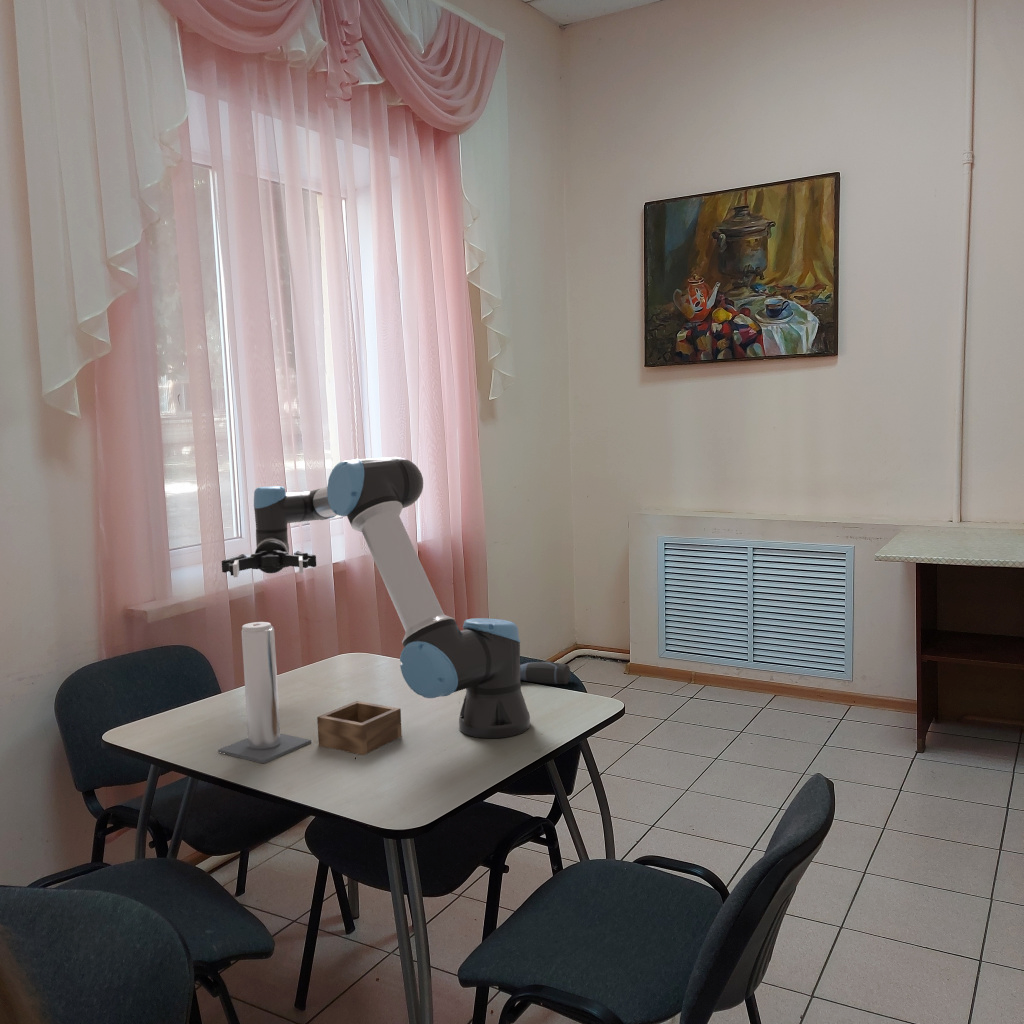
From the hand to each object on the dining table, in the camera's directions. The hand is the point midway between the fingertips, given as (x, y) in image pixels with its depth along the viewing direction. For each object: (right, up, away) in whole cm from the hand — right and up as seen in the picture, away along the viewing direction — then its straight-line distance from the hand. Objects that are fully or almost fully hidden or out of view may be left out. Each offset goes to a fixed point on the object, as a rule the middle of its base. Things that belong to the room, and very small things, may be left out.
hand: (268, 568), depth 195 cm
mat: (+2, -36, -8) cm, 37 cm away
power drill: (+55, -31, +31) cm, 71 cm away
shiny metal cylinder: (+1, -36, -8) cm, 36 cm away
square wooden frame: (+21, -35, -6) cm, 41 cm away
